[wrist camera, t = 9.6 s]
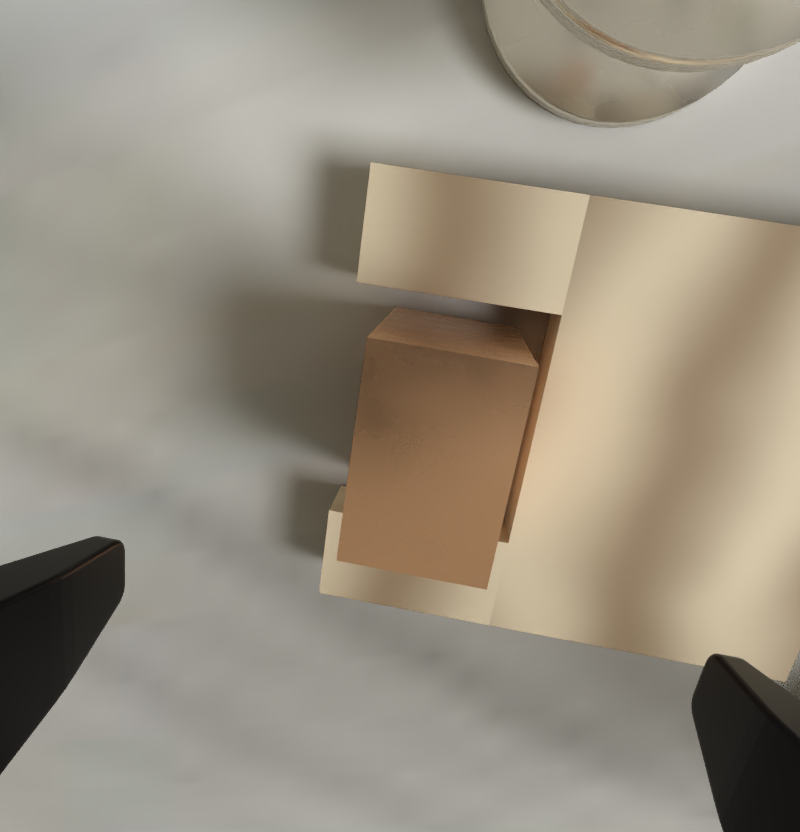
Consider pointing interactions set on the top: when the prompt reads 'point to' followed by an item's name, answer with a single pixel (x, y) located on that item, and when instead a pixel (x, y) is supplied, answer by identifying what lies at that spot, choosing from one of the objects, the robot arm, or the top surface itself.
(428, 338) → the wooden block
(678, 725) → the top surface
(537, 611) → the notched board
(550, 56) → the bobbin
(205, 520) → the top surface
